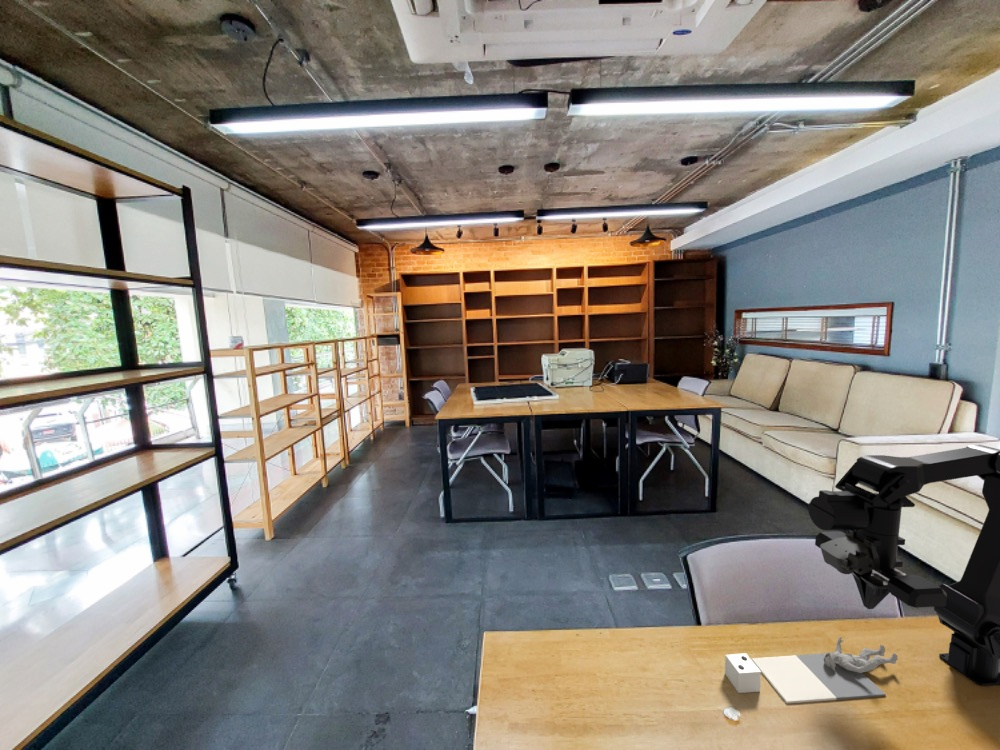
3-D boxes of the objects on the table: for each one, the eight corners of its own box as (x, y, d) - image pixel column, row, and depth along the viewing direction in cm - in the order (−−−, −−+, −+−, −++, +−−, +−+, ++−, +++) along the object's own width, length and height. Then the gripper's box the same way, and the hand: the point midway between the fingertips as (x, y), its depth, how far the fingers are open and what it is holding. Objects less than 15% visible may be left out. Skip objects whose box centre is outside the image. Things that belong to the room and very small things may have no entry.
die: (745, 672, 74) (746, 652, 74) (760, 691, 70) (760, 671, 70) (724, 673, 74) (725, 654, 74) (738, 693, 70) (739, 672, 70)
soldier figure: (914, 665, 70) (845, 654, 70) (911, 693, 70) (843, 681, 70) (874, 638, 78) (812, 628, 78) (872, 663, 77) (810, 653, 78)
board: (839, 654, 78) (839, 652, 77) (885, 696, 69) (885, 694, 69) (751, 660, 77) (751, 658, 77) (786, 703, 68) (786, 701, 68)
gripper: (791, 506, 79) (786, 577, 81) (886, 560, 60) (877, 651, 62) (844, 504, 79) (838, 575, 81) (955, 557, 61) (943, 648, 62)
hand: (868, 607), depth 72 cm, fingers closed
